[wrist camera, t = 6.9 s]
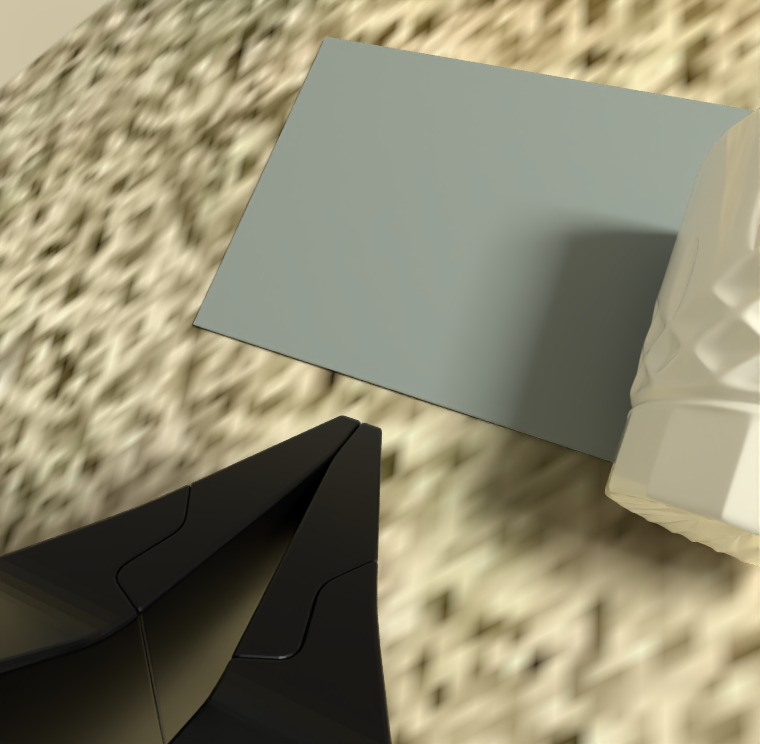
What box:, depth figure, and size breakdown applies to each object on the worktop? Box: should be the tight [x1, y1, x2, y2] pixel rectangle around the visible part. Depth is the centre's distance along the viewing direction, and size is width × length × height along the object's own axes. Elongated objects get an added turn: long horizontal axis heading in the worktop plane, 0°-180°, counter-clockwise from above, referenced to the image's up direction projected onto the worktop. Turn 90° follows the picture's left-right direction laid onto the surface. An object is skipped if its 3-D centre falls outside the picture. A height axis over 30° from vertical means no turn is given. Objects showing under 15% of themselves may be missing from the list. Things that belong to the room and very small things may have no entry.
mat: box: [194, 37, 754, 462], centre depth 18 cm, size 14×18×1 cm
